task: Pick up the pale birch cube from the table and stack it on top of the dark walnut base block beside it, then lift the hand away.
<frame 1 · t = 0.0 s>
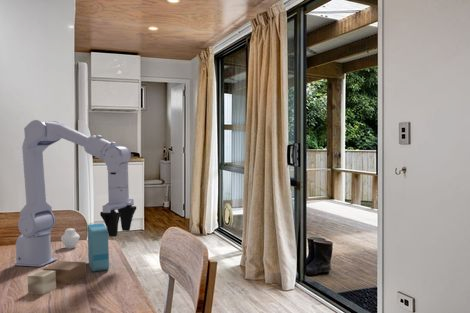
hand: (119, 233, 120), 10 cm above the table, fingers open, 7 cm apart
walnut base block: (65, 279, 111), on the table
birch cube: (42, 291, 102), on the table
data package: (98, 267, 122), on the table
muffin: (70, 248, 146), on the table
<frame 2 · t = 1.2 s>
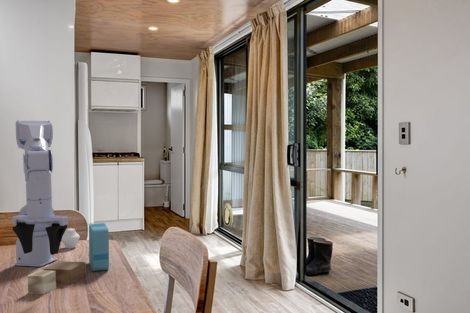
hand: (41, 253, 102), 9 cm above the table, fingers open, 7 cm apart
nothing on the table moved.
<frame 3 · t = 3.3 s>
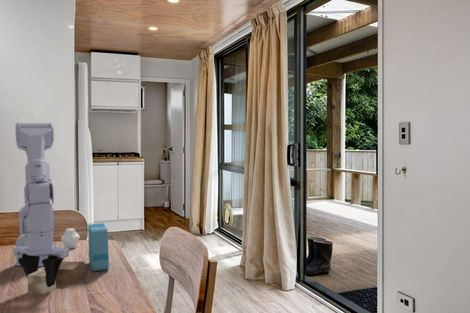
hand: (42, 284, 102), 1 cm above the table, fingers closed on birch cube, 4 cm apart
birch cube: (42, 290, 102), on the table, touching gripper
everything else where it was.
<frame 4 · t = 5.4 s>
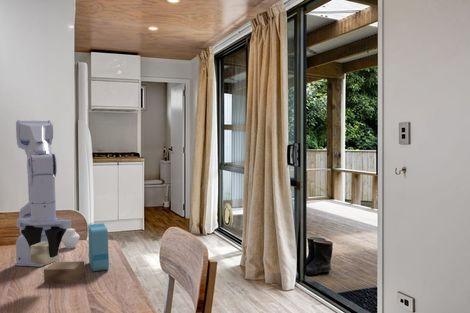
hand: (44, 255, 103), 8 cm above the table, fingers closed on birch cube, 4 cm apart
birch cube: (45, 261, 103), point 7 cm above the table, touching gripper
everything else where it was.
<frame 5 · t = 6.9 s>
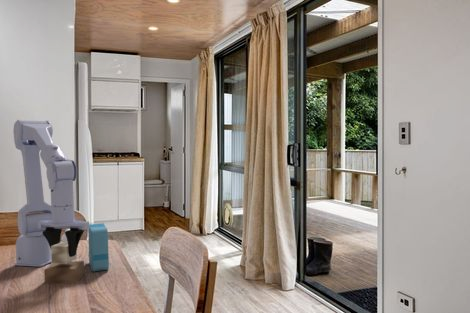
hand: (64, 255, 111), 6 cm above the table, fingers closed on birch cube, 4 cm apart
birch cube: (64, 260, 111), point 5 cm above the table, touching gripper
everything else where it was.
when the fingers open (6 cm above the table, at t = 7.8 s): birch cube drops 1 cm, point 4 cm above the table.
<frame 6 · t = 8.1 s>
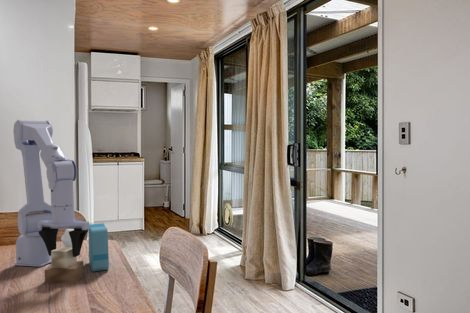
hand: (64, 255, 111), 6 cm above the table, fingers open, 7 cm apart
birch cube: (64, 265, 111), point 4 cm above the table
everything else where it was.
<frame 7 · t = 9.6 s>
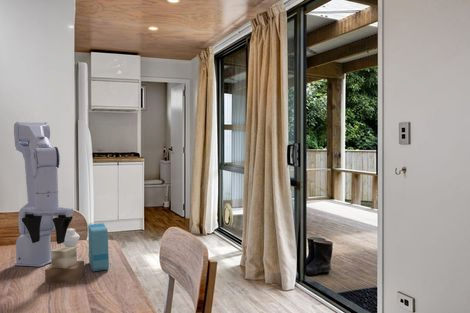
hand: (48, 242, 110), 10 cm above the table, fingers open, 7 cm apart
walnut base block: (65, 279, 111), on the table, touching birch cube
birch cube: (64, 265, 111), point 4 cm above the table, touching walnut base block
everything else where it was.
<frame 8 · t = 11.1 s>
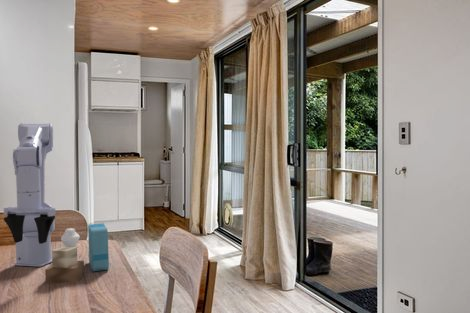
hand: (30, 242, 109), 10 cm above the table, fingers open, 7 cm apart
nothing on the table moved.
at the end: birch cube 0.3 cm off-centre on the walnut base block, point 4.0 cm above the walnut base block's base; birch cube tilted 0°; the gripper is holding nothing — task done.
